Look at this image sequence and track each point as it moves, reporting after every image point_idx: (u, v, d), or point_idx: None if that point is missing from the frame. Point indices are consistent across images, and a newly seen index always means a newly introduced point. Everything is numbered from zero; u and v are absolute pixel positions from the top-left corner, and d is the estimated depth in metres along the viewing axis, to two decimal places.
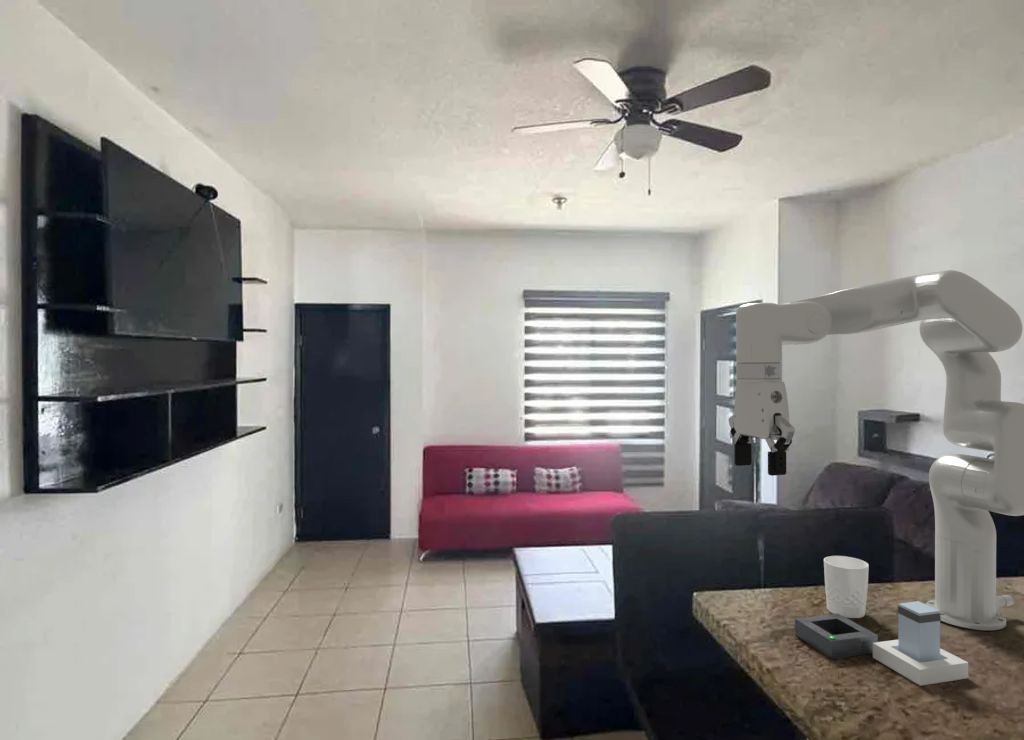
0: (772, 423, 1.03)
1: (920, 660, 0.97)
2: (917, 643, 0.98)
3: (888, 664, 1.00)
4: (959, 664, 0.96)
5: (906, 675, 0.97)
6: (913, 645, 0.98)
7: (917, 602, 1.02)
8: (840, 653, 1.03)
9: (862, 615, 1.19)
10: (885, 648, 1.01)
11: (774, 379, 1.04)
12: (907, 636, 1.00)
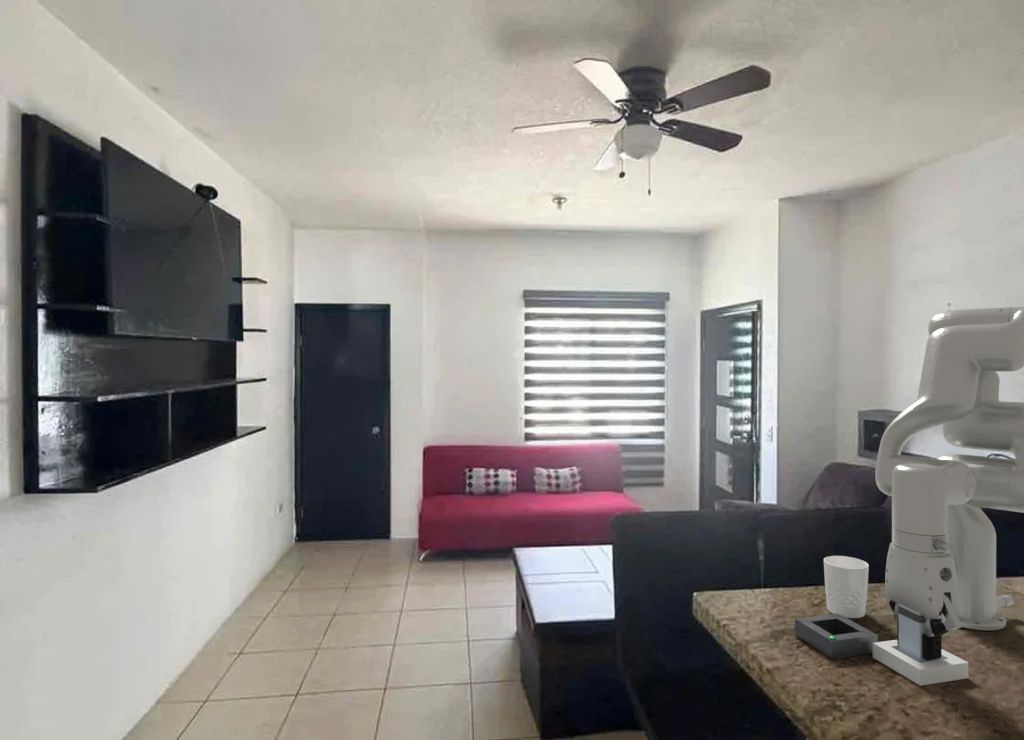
0: (942, 603, 0.94)
1: (920, 660, 0.97)
2: (917, 643, 0.98)
3: (888, 664, 1.00)
4: (959, 664, 0.96)
5: (906, 675, 0.97)
6: (914, 645, 0.98)
7: None
8: (840, 653, 1.03)
9: (862, 615, 1.19)
10: (885, 648, 1.01)
11: (941, 553, 0.96)
12: (907, 636, 1.00)
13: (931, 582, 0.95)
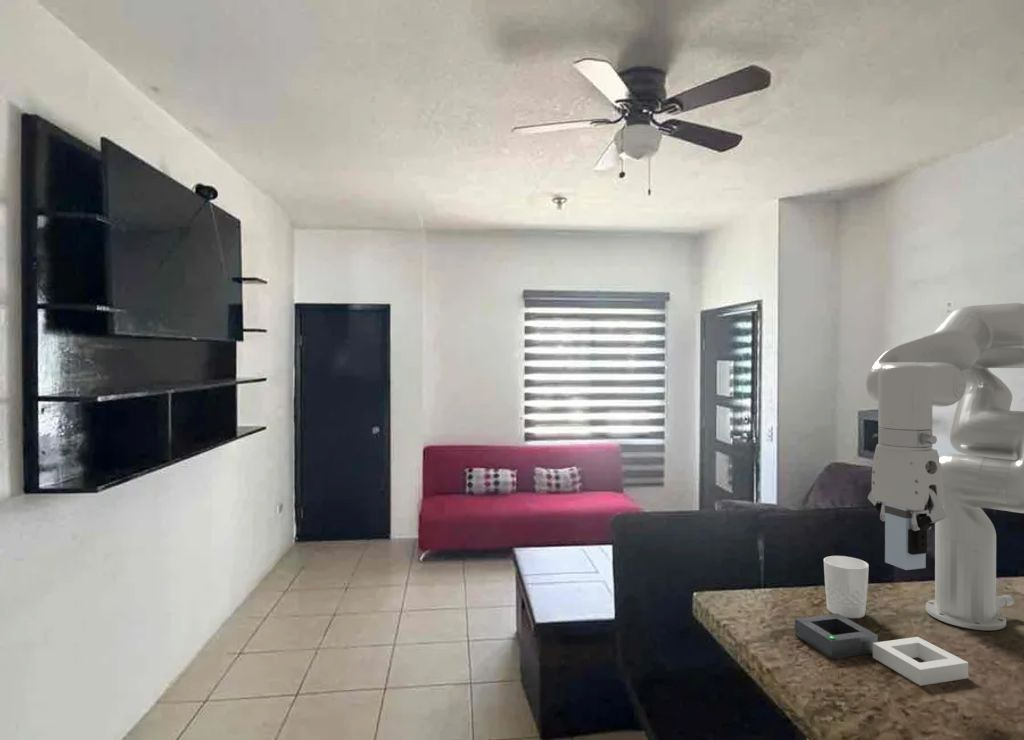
0: (927, 496, 0.95)
1: (906, 555, 0.98)
2: (903, 538, 0.99)
3: (888, 664, 1.00)
4: (959, 664, 0.96)
5: (906, 675, 0.97)
6: (900, 541, 0.99)
7: None
8: (840, 653, 1.03)
9: (862, 615, 1.19)
10: (885, 648, 1.01)
11: (927, 447, 0.97)
12: (893, 533, 1.01)
13: (917, 475, 0.96)
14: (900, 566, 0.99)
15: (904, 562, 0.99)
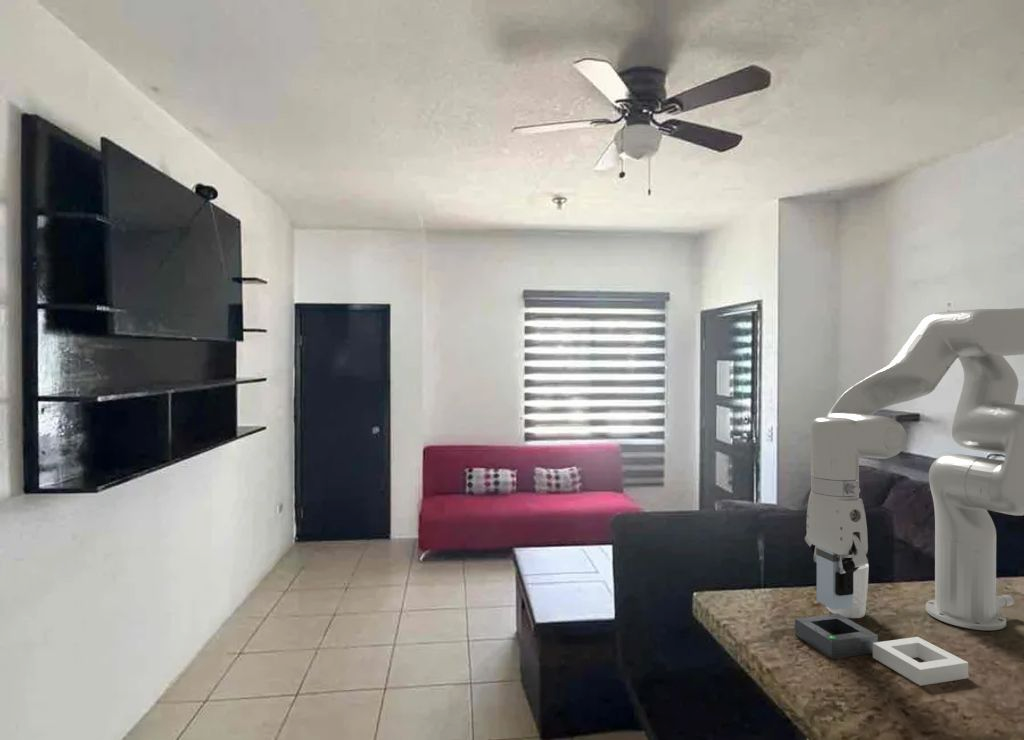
0: (851, 542, 1.03)
1: (833, 596, 1.06)
2: (831, 580, 1.06)
3: (888, 664, 1.00)
4: (959, 664, 0.96)
5: (906, 675, 0.97)
6: (828, 583, 1.07)
7: None
8: (840, 653, 1.03)
9: (862, 615, 1.19)
10: (885, 648, 1.01)
11: (852, 496, 1.05)
12: (823, 575, 1.08)
13: (842, 523, 1.04)
14: (828, 606, 1.07)
15: (831, 602, 1.06)
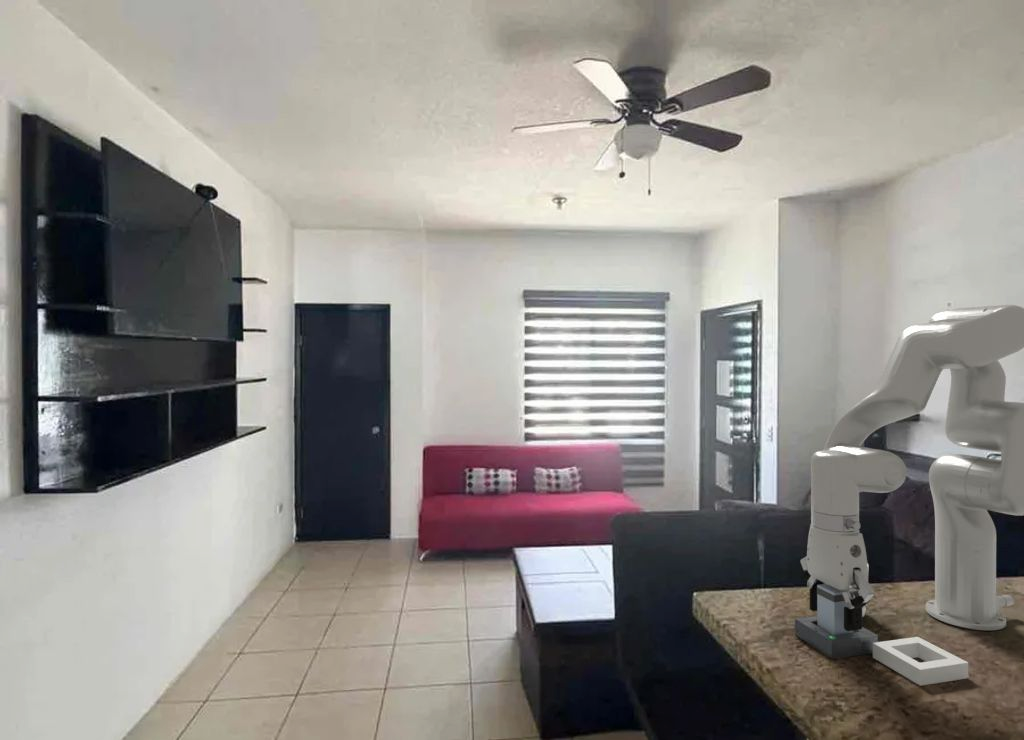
0: (851, 578, 1.03)
1: None
2: (832, 620, 1.06)
3: (888, 664, 1.00)
4: (959, 664, 0.96)
5: (906, 675, 0.97)
6: (829, 623, 1.07)
7: None
8: (840, 653, 1.03)
9: (862, 615, 1.19)
10: (885, 648, 1.01)
11: (852, 532, 1.05)
12: (824, 614, 1.08)
13: (842, 558, 1.04)
14: None
15: None
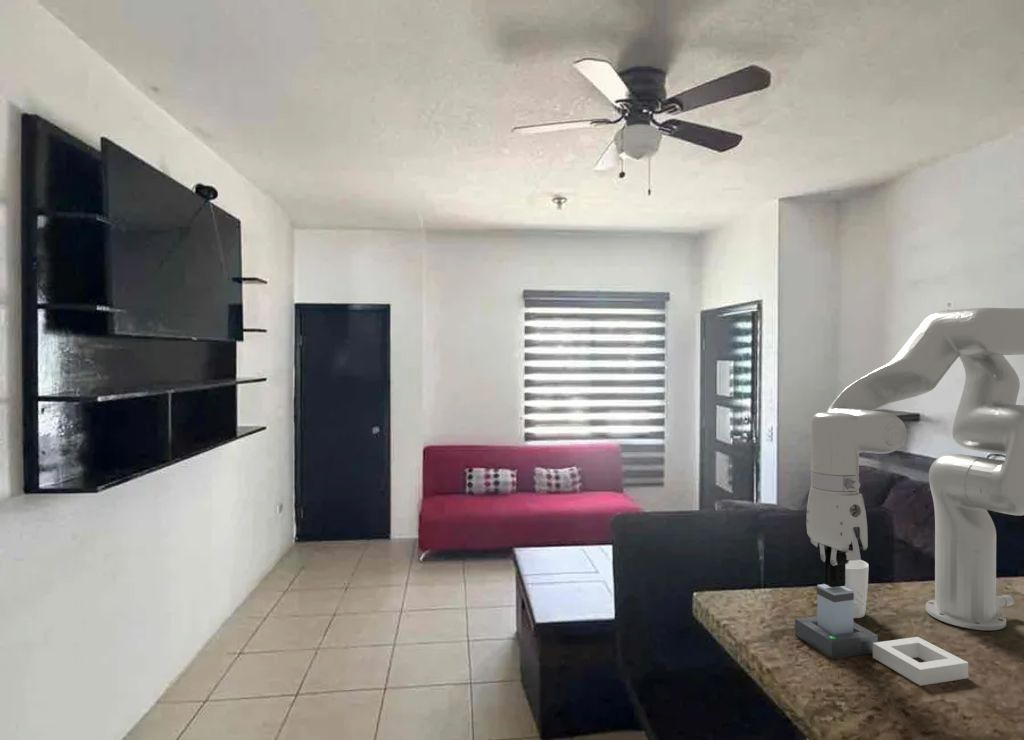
0: (851, 537, 1.03)
1: None
2: (832, 620, 1.06)
3: (888, 664, 1.00)
4: (959, 664, 0.96)
5: (906, 675, 0.97)
6: (829, 623, 1.07)
7: None
8: (840, 653, 1.03)
9: (862, 615, 1.19)
10: (885, 648, 1.01)
11: (852, 492, 1.05)
12: (824, 614, 1.08)
13: (842, 518, 1.04)
14: None
15: None
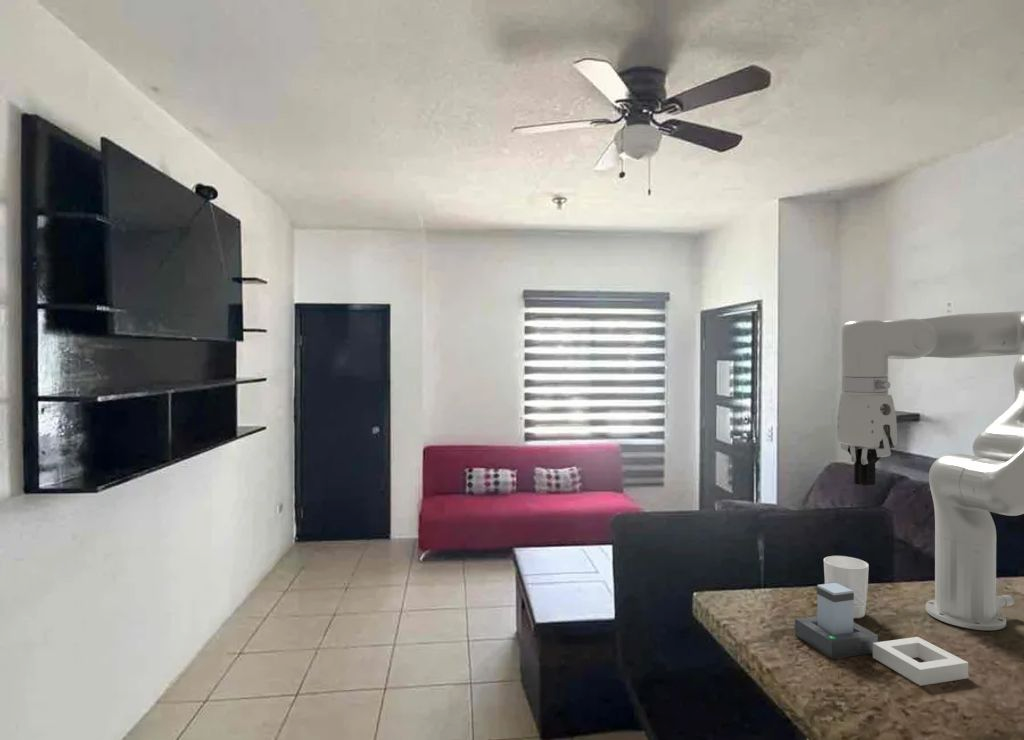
0: (882, 434, 1.09)
1: None
2: (832, 620, 1.06)
3: (888, 664, 1.00)
4: (959, 664, 0.96)
5: (906, 675, 0.97)
6: (829, 623, 1.07)
7: (834, 583, 1.10)
8: (840, 653, 1.03)
9: (862, 615, 1.19)
10: (885, 648, 1.01)
11: (882, 392, 1.10)
12: (824, 614, 1.08)
13: (873, 416, 1.09)
14: None
15: None
